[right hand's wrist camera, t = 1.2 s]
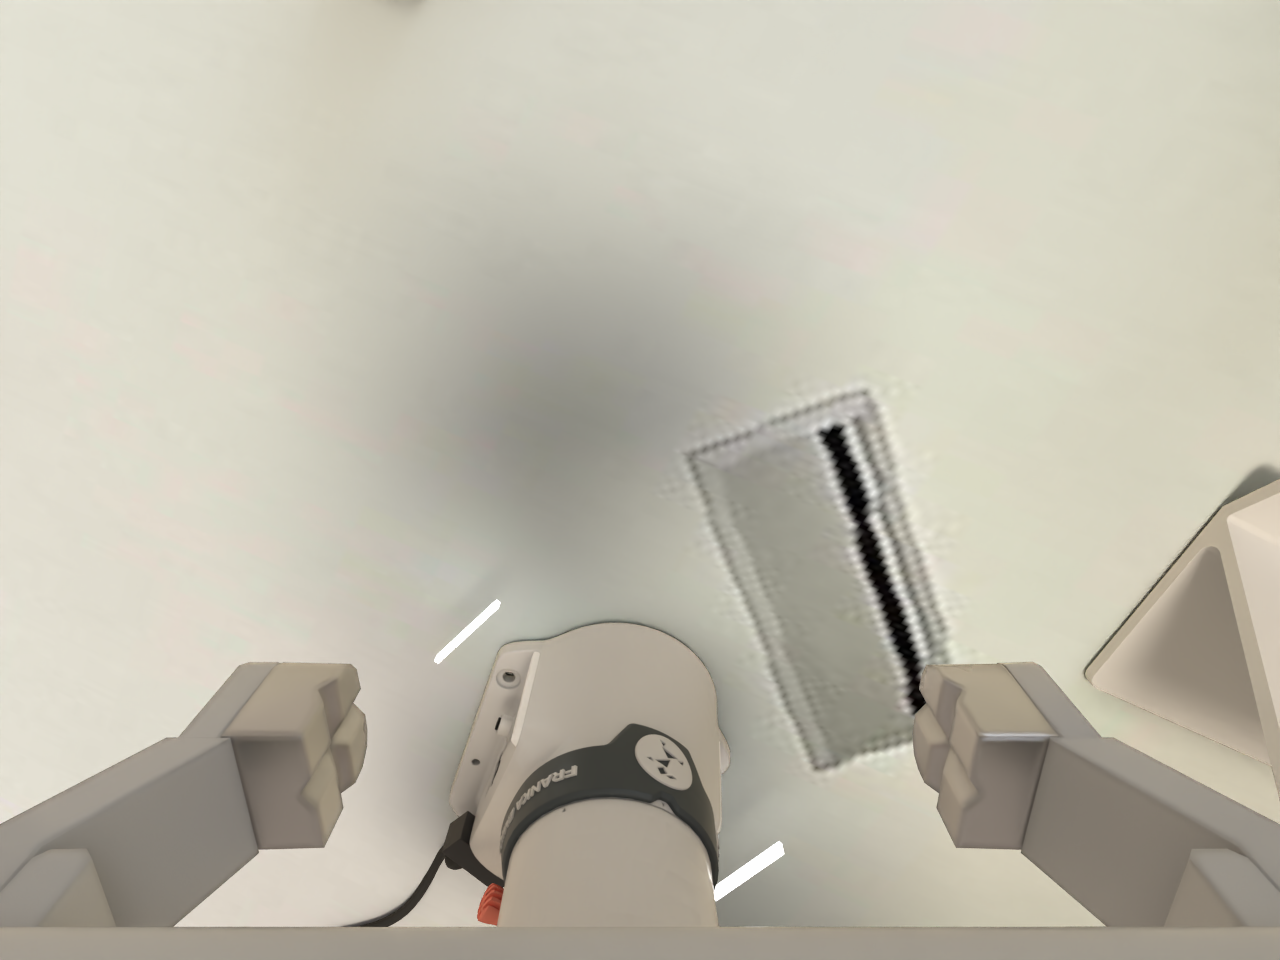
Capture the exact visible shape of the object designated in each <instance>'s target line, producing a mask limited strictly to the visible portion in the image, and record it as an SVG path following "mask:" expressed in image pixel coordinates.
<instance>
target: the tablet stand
mask: <svg viewBox="0 0 1280 960" xmlns="http://www.w3.org/2000/svg"><path fill="white" fill-rule="evenodd" d="M1085 676H1086V678H1087V680H1088V681H1089V682H1090V683H1091V684H1092V685H1093V686H1094V687H1095V688H1097V689H1099V690H1101V691H1103V692H1106V693H1108V694H1110V695H1112V696H1115V697H1117V698H1119V699H1121V700H1124V701H1126V702H1128V703H1130V704H1133V705H1135V706H1137V707H1139V708H1142V709H1144V710H1146V711H1148V712H1151V713H1153V714H1155V715H1157V716H1159V717H1162V718H1164V719H1166V720H1168V721H1171V722H1173V723H1175V724H1177V725H1180V726H1182V727H1184V728H1186V729H1189V730H1191V731H1193V732H1195V733H1198V734H1200V735H1202V736H1204V737H1207V738H1209V739H1211V740H1213V741H1216V742H1218V743H1220V744H1222V745H1224V746H1227V747H1229V748H1231V749H1233V750H1236V751H1238V752H1240V753H1242V754H1245V755H1247V756H1249V757H1251V758H1254V759H1256V760H1258V761H1260V762H1263V763H1265V764H1267V765H1269V766H1272V771H1273V775H1274V779H1275V783H1276V787H1277V791H1278V795H1279V800H1280V479H1278V480H1276V481H1274V482H1272V483H1270V484H1268V485H1266V486H1264V487H1262V488H1260V489H1257V490H1255V491H1253V492H1251V493H1249V494H1247V495H1245V496H1243V497H1241V498H1239V499H1237V500H1235V501H1233V502H1231V503H1228V504H1226V505H1224V506H1223V507H1222V508H1221V509H1220V510H1219V511H1218V513H1217V514H1216V515H1215V516H1214V517H1213V519H1212V520H1211V521H1210V522H1209V523H1208V525H1207V526H1206V527H1205V528H1204V529H1203V531H1202V532H1201V533H1200V534H1199V535H1198V537H1197V538H1196V539H1195V540H1194V541H1193V543H1192V544H1191V545H1190V546H1189V547H1188V549H1187V550H1186V551H1185V552H1184V553H1183V555H1182V556H1181V557H1180V558H1179V559H1178V561H1177V562H1176V563H1175V564H1174V565H1173V567H1172V568H1171V569H1170V570H1169V571H1168V573H1167V574H1166V575H1165V576H1164V577H1163V578H1162V580H1161V581H1160V582H1159V583H1158V584H1157V586H1156V587H1155V588H1154V589H1153V590H1152V592H1151V593H1150V594H1149V595H1148V596H1147V598H1146V599H1145V600H1144V601H1143V602H1142V604H1141V605H1140V606H1139V607H1138V608H1137V610H1136V611H1135V612H1134V613H1133V614H1132V616H1131V617H1130V618H1129V619H1128V620H1127V622H1126V623H1125V624H1124V625H1123V626H1122V628H1121V629H1120V630H1119V631H1118V632H1117V634H1116V635H1115V636H1114V637H1113V638H1112V640H1111V641H1110V642H1109V643H1108V644H1107V646H1106V647H1105V648H1104V649H1103V650H1102V652H1101V653H1100V654H1099V655H1098V656H1097V658H1096V659H1095V660H1094V661H1093V662H1092V663H1091V665H1090V666H1089V667H1088V668H1087V670H1086V672H1085Z"/></svg>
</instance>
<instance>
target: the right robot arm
mask: <svg viewBox="0 0 1280 960" xmlns="http://www.w3.org/2000/svg"><path fill="white" fill-rule="evenodd" d="M499 605H500V602H499V601H498V600H496V601H494V602H493V603H492V604H491V605H490V606H489V607H488V608H487V609H486V610H485V611H484V612H483V613H482V614H480V615H479V616H478V617H477V618H476V619H475V620H474V621H473V622H472V623H471V624H470V625H469V626H468V627H466V628H465V629H464V630H463V631H462V632H461V633H460V634H459V635H458V636H457V637H456V638H455V639H454V640H452V641H451V642H450V643H449V644H448V645H447V646H446V647H445V648H444V649H443V650H442V651H441V652H439V653H438V654H437V656H436V658H435V662H437V663H439V662H441V661H442V660H443V659H444V658H445V657H446V656H447V655H448V654H449V653H450V652H451V651H452V650H454V649H455V648H456V647H457V646H458V645H459V644H460V643H461V642H462V641H463V640H464V639H465V638H467V637H468V636H469V635H470V634H471V633H472V632H473V631H474V630H475V629H476V628H477V627H478V626H480V625H481V624H482V623H483V622H484V621H485V620H486V619H487V618H488V617H489V616H490V615H491V614H493V613H494V612H495V611H496V610H497V609H498V608H499ZM506 672H511V673H513V674H514V676H508V675H506V674H505V673H506ZM360 689H361V688H360V683H359V678H358V673H357V669H356V668H355V667H353V666H352V665H351V664H331V663H285V662H283V663H278V662H248V663H245V664H242V665H240V666H238V667H237V669H236V670H235V671H234V672H233V673H232V674H231V676H230V677H229V678H228V679H227V680H226V682H225V683H224V684H223V685H222V686H221V687H220V689H219V690H218V691H217V692H216V693H215V695H214V696H213V697H212V698H211V699H210V700H209V702H208V703H207V704H206V705H205V706H204V708H203V709H202V710H201V711H200V712H199V713H198V715H197V716H196V717H195V718H194V719H193V721H192V722H191V723H190V724H189V725H188V726H187V728H186V729H185V730H184V731H183V732H182V733H181V735H180V736H179V737H178V738H165V739H163V740H161V741H159V742H157V743H155V744H153V745H152V746H150V747H148V748H146V749H144V750H142V751H140V752H138V753H136V754H134V755H132V756H130V757H128V758H127V759H125V760H123V761H121V762H119V763H117V764H115V765H113V766H111V767H109V768H107V769H105V770H103V771H102V772H100V773H98V774H96V775H94V776H92V777H90V778H88V779H86V780H84V781H82V782H80V783H78V784H77V785H75V786H73V787H71V788H69V789H67V790H65V791H63V792H61V793H59V794H57V795H55V796H53V797H52V798H50V799H48V800H46V801H44V802H42V803H40V804H38V805H36V806H34V807H32V808H30V809H28V810H27V811H25V812H23V813H21V814H19V815H17V816H15V817H13V818H11V819H9V820H7V821H5V822H3V823H2V824H0V960H1280V824H1278V823H1276V822H1274V821H1272V820H1270V819H1268V818H1266V817H1265V816H1263V815H1261V814H1259V813H1257V812H1255V811H1253V810H1251V809H1249V808H1247V807H1245V806H1243V805H1242V804H1240V803H1238V802H1236V801H1234V800H1232V799H1230V798H1228V797H1226V796H1224V795H1222V794H1220V793H1219V792H1217V791H1215V790H1213V789H1211V788H1209V787H1207V786H1205V785H1203V784H1201V783H1199V782H1197V781H1196V780H1194V779H1192V778H1190V777H1188V776H1186V775H1184V774H1182V773H1180V772H1178V771H1176V770H1174V769H1172V768H1171V767H1169V766H1167V765H1165V764H1163V763H1161V762H1159V761H1157V760H1155V759H1153V758H1151V757H1149V756H1148V755H1146V754H1144V753H1142V752H1140V751H1138V750H1136V749H1134V748H1132V747H1130V746H1128V745H1126V744H1125V743H1123V742H1121V741H1119V740H1117V739H1115V738H1102V737H1101V736H1100V735H1099V734H1098V732H1097V731H1096V730H1095V729H1094V728H1093V727H1092V725H1091V724H1090V723H1089V722H1088V721H1087V719H1086V718H1085V717H1084V716H1083V715H1082V714H1081V712H1080V711H1079V710H1078V709H1077V708H1076V706H1075V705H1074V704H1073V703H1072V702H1071V701H1070V699H1069V698H1068V697H1067V696H1066V695H1065V693H1064V692H1063V691H1062V690H1061V689H1060V688H1059V686H1058V685H1057V684H1056V683H1055V682H1054V681H1053V679H1052V678H1051V677H1050V676H1049V675H1048V673H1047V672H1046V671H1045V670H1044V669H1043V668H1042V666H1040V665H1038V664H1036V663H1034V662H1013V663H997V664H947V665H926V667H925V669H924V671H923V673H922V676H921V682H920V687H919V689H920V691H921V693H922V695H923V697H924V698H925V700H926V702H927V703H926V704H925V705H924V706H923V707H922V708H921V709H920V710H919V711H918V712H917V713H916V714H915V718H914V726H913V734H912V735H913V747H914V756H915V759H916V763H917V766H918V769H919V772H920V774H921V776H922V778H923V780H924V783H926V784H927V785H928V786H930V787H931V788H933V789H934V790H935V791H937V792H938V793H939V797H938V803H937V810H938V812H939V814H940V816H941V818H942V820H943V822H944V824H945V826H946V828H947V830H948V832H949V834H950V836H951V838H952V841H953V843H954V845H955V847H956V848H986V849H1021V853H1022V854H1023V855H1024V856H1025V857H1027V858H1028V859H1029V860H1030V861H1031V862H1032V863H1034V864H1035V865H1036V866H1037V867H1038V868H1039V869H1041V870H1042V871H1043V872H1044V873H1045V874H1046V875H1048V876H1049V877H1050V878H1051V879H1052V880H1053V881H1055V882H1056V883H1057V884H1058V885H1059V886H1060V887H1062V888H1063V889H1064V890H1065V891H1066V892H1067V893H1068V894H1070V895H1071V896H1072V897H1073V898H1074V899H1075V900H1077V901H1078V902H1079V903H1080V904H1081V905H1082V906H1084V907H1085V908H1086V909H1087V910H1088V911H1089V912H1091V913H1092V914H1093V915H1094V916H1095V917H1096V918H1098V919H1099V920H1100V921H1101V922H1102V923H1103V924H1105V925H1106V926H1107V927H719V925H718V918H717V911H716V904H715V900H716V901H717V900H719V899H720V898H722V897H723V896H724V895H726V894H727V893H729V892H730V891H732V890H733V889H735V888H736V887H737V886H739V885H740V884H742V883H743V882H745V881H746V880H748V879H749V878H750V877H752V876H753V875H755V874H756V873H758V872H759V871H761V870H762V869H763V868H765V867H766V866H768V865H769V864H771V863H772V862H774V861H775V860H776V859H778V858H779V857H781V856H782V855H784V851H783V846H782V843H781V842H777V843H776V844H774V845H773V846H771V847H770V848H769V849H767V850H766V851H764V852H763V853H761V854H760V855H759V856H757V857H756V858H754V859H753V860H751V861H750V862H749V863H747V864H746V865H744V866H743V867H741V868H740V869H739V870H737V871H736V872H734V873H733V874H731V875H730V876H729V877H727V878H726V879H724V880H723V881H721V882H720V883H719V884H717V880H718V871H719V870H718V861H719V860H718V857H719V851H718V849H719V841H718V834H719V832H720V830H721V824H722V808H721V775H722V774H723V773H724V772H725V771H726V770H727V769H728V767H729V765H730V749H729V746H728V744H727V741H726V739H725V738H724V736H723V734H722V732H721V730H720V729H719V727H718V721H717V696H716V691H715V687H714V684H713V681H712V678H711V676H710V674H709V672H708V671H707V669H706V667H705V666H704V664H703V663H702V662H701V660H700V659H699V658H698V657H697V656H696V655H695V654H694V653H693V652H692V651H691V650H690V649H689V648H688V647H687V646H685V645H684V644H683V643H681V642H680V641H678V640H677V639H675V638H673V637H671V636H670V635H668V634H665V633H663V632H661V631H658V630H656V629H653V628H650V627H646V626H642V625H637V624H630V623H600V624H593V625H588V626H584V627H580V628H577V629H574V630H571V631H569V632H567V633H564V634H562V635H559V636H557V637H554V638H551V639H548V640H544V641H519V642H512V643H508V644H506V645H504V646H503V647H502V648H501V649H500V650H499V652H498V654H497V656H496V659H495V662H494V665H493V668H492V671H491V674H490V677H489V680H488V683H487V685H486V688H485V691H484V694H483V697H482V700H481V703H480V706H479V709H478V712H477V714H476V717H475V720H474V723H473V726H472V729H471V732H470V735H469V738H468V741H467V744H466V746H465V749H464V752H463V755H462V758H461V761H460V764H459V767H458V770H457V773H456V775H455V778H454V781H453V785H452V788H451V793H450V798H449V804H450V806H451V808H452V809H453V811H454V812H455V813H456V814H457V816H458V817H459V818H457V819H456V820H455V821H453V822H452V823H451V824H450V826H449V830H448V833H447V836H446V840H445V843H444V846H443V847H442V848H441V849H440V850H439V852H438V853H437V855H436V857H435V859H434V861H433V863H432V865H431V867H430V868H429V870H428V872H427V873H426V875H425V876H424V878H423V880H422V882H421V883H420V885H419V887H418V888H417V890H416V891H415V893H414V894H413V896H412V897H411V898H410V899H409V901H408V902H407V903H406V904H405V905H404V906H402V907H401V908H400V909H399V910H397V911H396V912H394V913H393V914H391V915H389V916H387V917H385V918H383V919H381V920H378V921H376V922H373V923H369V924H366V925H362V926H358V927H173V926H174V925H176V924H177V923H178V922H179V921H180V920H181V919H183V918H184V917H185V916H186V915H187V914H188V913H190V912H191V911H192V910H193V909H194V908H195V907H197V906H198V905H199V904H200V903H201V902H202V901H204V900H205V899H206V898H207V897H208V896H209V895H211V894H212V893H213V892H214V891H215V890H216V889H218V888H219V887H220V886H221V885H222V884H223V883H225V882H226V881H227V880H228V879H229V878H230V877H232V876H233V875H234V874H235V873H236V872H237V871H239V870H240V869H241V868H242V867H243V866H244V865H246V864H247V863H248V862H249V861H250V860H251V859H253V858H254V857H255V856H256V855H257V854H258V853H259V849H293V848H324V847H325V845H326V843H327V841H328V839H329V837H330V834H331V832H332V830H333V828H334V826H335V824H336V822H337V820H338V818H339V816H340V814H341V812H342V810H343V803H342V797H341V793H342V792H343V791H345V790H346V789H347V788H349V787H350V786H352V785H353V784H354V783H355V782H356V780H357V778H358V776H359V774H360V771H361V769H362V767H363V763H364V758H365V753H366V748H367V724H366V718H365V714H364V713H363V712H362V711H361V710H360V709H359V708H358V707H357V706H356V705H355V704H354V703H353V702H354V700H355V698H356V697H357V695H358V693H359V691H360ZM444 858H445V863H446V865H447V867H448V868H450V869H453V870H457V869H461V868H464V869H465V870H466V871H468V872H469V873H470V874H472V875H473V876H474V877H476V878H477V879H478V880H480V881H481V882H482V883H484V884H485V885H486V886H488V888H487V890H486V891H485V893H484V895H483V898H482V900H481V902H480V906H479V909H478V915H477V919H478V921H480V922H483V923H487V924H492V925H496V926H497V927H388V926H390V925H392V924H394V923H396V922H397V921H399V920H401V919H402V918H403V917H405V916H406V915H407V914H408V913H409V912H410V911H411V910H412V909H413V908H414V907H415V906H416V905H417V903H418V902H419V901H420V900H421V898H422V897H423V895H424V894H425V892H426V891H427V889H428V887H429V886H430V884H431V882H432V880H433V878H434V876H435V874H436V872H437V870H438V868H439V866H440V865H441V863H442V861H443V860H444ZM716 884H717V885H716ZM503 887H504V889H503Z"/></svg>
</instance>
